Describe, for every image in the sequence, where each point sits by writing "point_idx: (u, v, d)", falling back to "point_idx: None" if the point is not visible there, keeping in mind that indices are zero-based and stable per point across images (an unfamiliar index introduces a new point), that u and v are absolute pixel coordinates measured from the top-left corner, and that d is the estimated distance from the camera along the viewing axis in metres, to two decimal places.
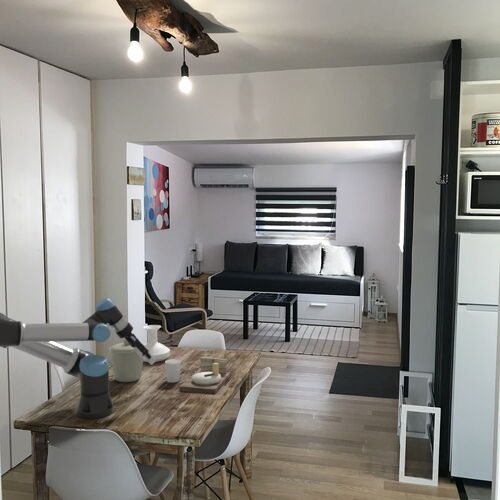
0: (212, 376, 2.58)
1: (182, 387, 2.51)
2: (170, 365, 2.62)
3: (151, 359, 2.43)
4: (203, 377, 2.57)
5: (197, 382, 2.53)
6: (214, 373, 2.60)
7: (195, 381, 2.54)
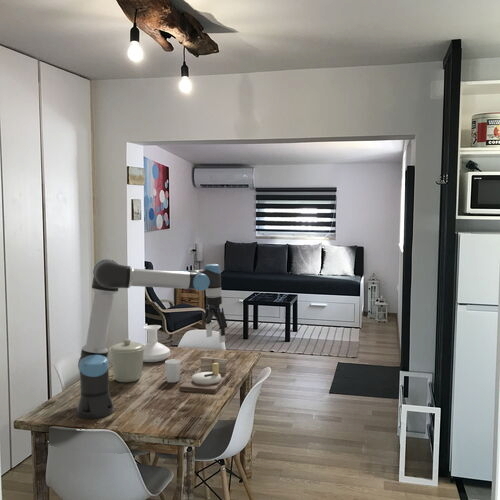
0: (212, 376, 2.58)
1: (182, 387, 2.51)
2: (170, 365, 2.62)
3: (223, 337, 2.49)
4: (203, 377, 2.57)
5: (197, 382, 2.53)
6: (214, 373, 2.60)
7: (195, 381, 2.54)
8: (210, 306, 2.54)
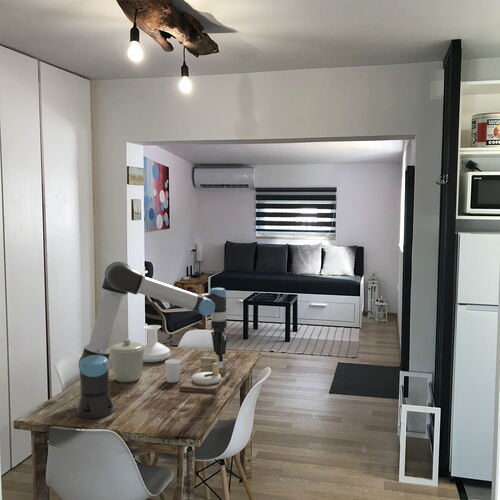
0: (212, 376, 2.58)
1: (182, 387, 2.51)
2: (170, 365, 2.62)
3: (220, 363, 2.55)
4: (203, 377, 2.57)
5: (197, 382, 2.53)
6: (214, 373, 2.60)
7: (195, 381, 2.54)
8: None
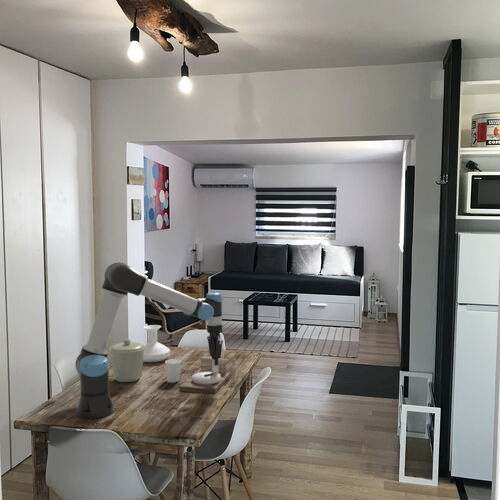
0: (212, 376, 2.59)
1: (182, 387, 2.51)
2: (170, 365, 2.62)
3: (216, 367, 2.59)
4: (203, 377, 2.57)
5: (198, 382, 2.53)
6: (214, 373, 2.61)
7: (196, 381, 2.54)
8: (210, 332, 2.60)
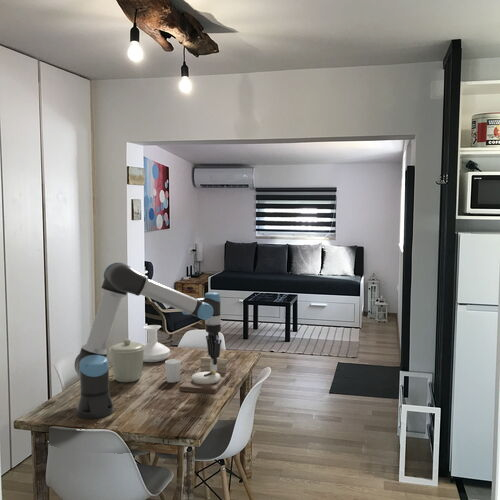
0: (212, 375, 2.60)
1: (182, 387, 2.51)
2: (170, 365, 2.62)
3: (215, 366, 2.60)
4: (204, 377, 2.57)
5: (200, 382, 2.53)
6: (212, 372, 2.62)
7: (198, 382, 2.53)
8: None
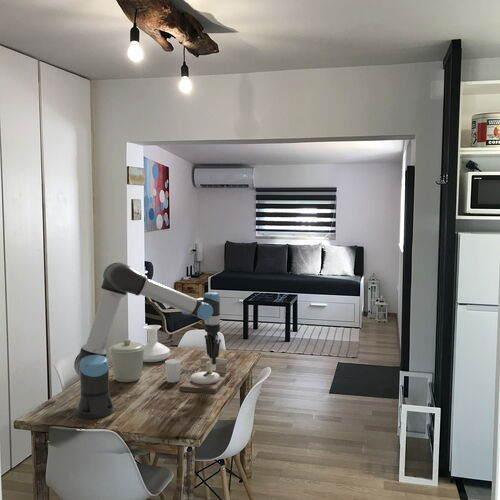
0: (210, 374, 2.61)
1: (182, 387, 2.51)
2: (170, 365, 2.62)
3: (213, 366, 2.61)
4: (205, 377, 2.57)
5: (204, 382, 2.53)
6: (210, 371, 2.63)
7: (201, 382, 2.53)
8: (208, 331, 2.62)
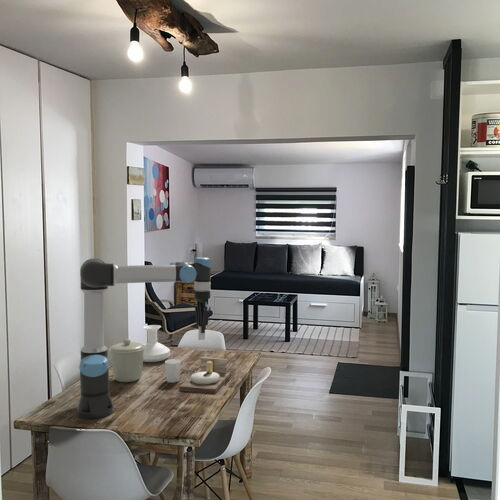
0: (210, 374, 2.61)
1: (182, 387, 2.51)
2: (170, 365, 2.62)
3: (202, 335, 2.49)
4: (205, 377, 2.57)
5: (204, 382, 2.53)
6: (210, 371, 2.63)
7: (201, 382, 2.53)
8: (197, 299, 2.50)
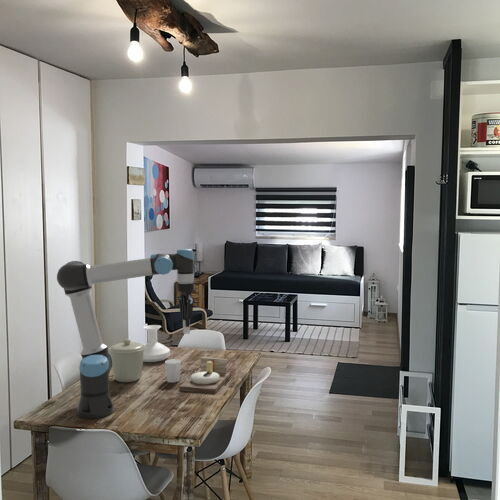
0: (210, 374, 2.61)
1: (182, 387, 2.51)
2: (170, 365, 2.62)
3: (187, 329, 2.41)
4: (205, 377, 2.57)
5: (204, 382, 2.53)
6: (210, 371, 2.63)
7: (201, 382, 2.53)
8: (181, 291, 2.42)
